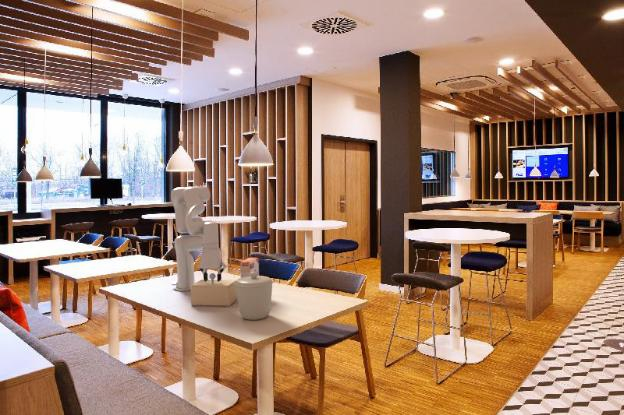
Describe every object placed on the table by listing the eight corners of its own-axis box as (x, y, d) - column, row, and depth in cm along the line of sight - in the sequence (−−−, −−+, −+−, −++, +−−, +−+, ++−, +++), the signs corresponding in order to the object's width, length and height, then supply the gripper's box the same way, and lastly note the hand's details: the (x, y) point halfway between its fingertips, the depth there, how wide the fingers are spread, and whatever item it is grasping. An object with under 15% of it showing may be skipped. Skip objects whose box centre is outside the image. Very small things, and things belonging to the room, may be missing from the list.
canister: (274, 322, 200) (273, 274, 198) (233, 324, 198) (231, 276, 197) (274, 310, 218) (273, 267, 216) (237, 312, 216) (235, 268, 215)
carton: (191, 305, 229) (190, 285, 228) (201, 299, 242) (201, 279, 241) (229, 306, 226) (228, 285, 225) (237, 299, 238) (236, 280, 238)
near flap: (191, 286, 228) (190, 274, 228) (196, 283, 235) (195, 272, 234) (227, 286, 225) (227, 275, 225) (232, 283, 231) (231, 272, 231)
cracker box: (251, 301, 234) (250, 261, 233) (240, 301, 235) (239, 261, 234) (260, 294, 248) (259, 257, 246) (249, 294, 249) (248, 257, 248)
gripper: (192, 247, 228) (193, 282, 229) (224, 247, 225) (226, 283, 226) (198, 245, 235) (199, 279, 236) (229, 245, 232) (231, 279, 233)
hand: (212, 280), depth 231 cm, fingers open, 6 cm apart
